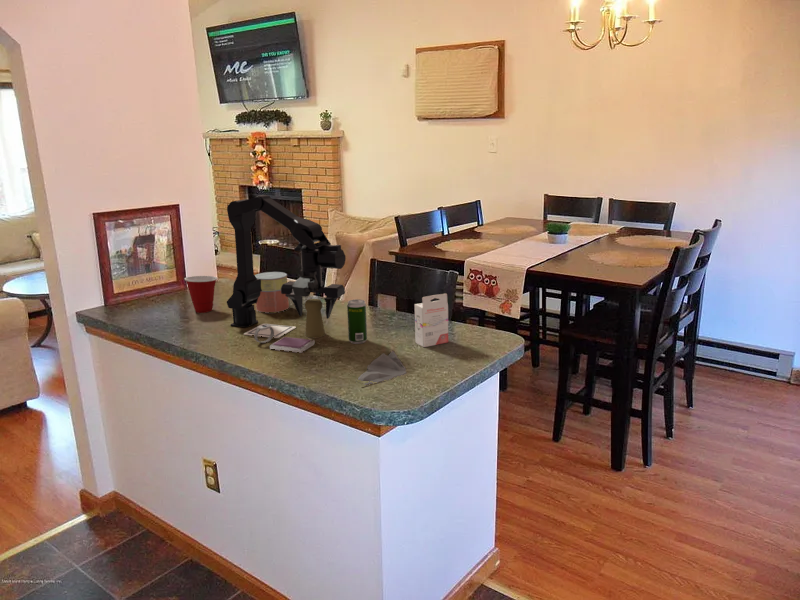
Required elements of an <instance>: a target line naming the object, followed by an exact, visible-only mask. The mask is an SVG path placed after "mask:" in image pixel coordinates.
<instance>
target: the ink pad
mask: <svg viewBox="0 0 800 600" xmlns="http://www.w3.org/2000/svg"><path fill="white" fill-rule="evenodd" d="M315 343H316V342H315V339H308V338H307V339H306V338H297V337H288V336H282V337H280V338H279V339H278V340H277V341H275V342H272V344H270V345H269V350H271V349H275V350H274V351H280V350H284V351H283V352H289V351H292V352H291V353H297V352H299V353H298V354H301V353H304V352H305V351H306V350H308V349H309V348H311V347H312V346H314V345H315ZM303 351H304V352H303Z"/></svg>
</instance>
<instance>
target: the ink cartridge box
mask: <svg viewBox="0 0 800 600" xmlns="http://www.w3.org/2000/svg"><path fill="white" fill-rule="evenodd" d="M421 299H422V300H421V301H422V302H421V303H414V333H415V335H414V336H415V338H414V339H415V340H414V341H415V344H417V345H419V346H420V347H423V348H427V347H433V346H436V345H441V344H447V343H449V304H448V294H447V293H445V292H444V293H440V294H439V293H438V294H433V295H427V296H423V297H422V298H421ZM434 299H436V300H434ZM437 299H438V300H437ZM432 300H434V301H432Z"/></svg>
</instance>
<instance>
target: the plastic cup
mask: <svg viewBox="0 0 800 600" xmlns="http://www.w3.org/2000/svg"><path fill="white" fill-rule="evenodd" d="M217 280H218V277H216V276H215V275H213V276H212V275H194V276H192V275H191V276H188V277H184V281H185V283H186V285H187V288H188V292H189V295H190V299H191V302H192V304H193V309H194V312H195V313H199V314H201V313H204V314H205V313H210V312H212V311H213V308H214V299H215V297H214V296H215V288H216V287H215V286H216V282H217Z"/></svg>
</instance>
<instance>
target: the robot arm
mask: <svg viewBox="0 0 800 600" xmlns="http://www.w3.org/2000/svg"><path fill="white" fill-rule="evenodd" d="M226 210H227V211H226V212H227V216H228V221H229V223H230V224H231V226H232V228H233V229H234V240H235V241H234V242H235V255H236V271H237V275H236V278H235V280H234V282H233V287H232V288H233V289H232V295H230V297H229V298H228V299H227V301H226V304H227V307H228V309H232V311H231V312H232V321H233V322H232V323H230V326H232V327H239V328H241V327H242V328H248V327H251V326H253V325H255V324H256V323H259V320H257V310H256V309H255V304H256V303H257V301H258V297H259V296H260V293H261V291H262V289H261V279H257V278H256V277H255V275H256V274H255V273H254V259H253V258H254V257H253V255H254V254H253V240H252V228H253V225H254V223H255V220H256V213H257V212H262V213H264V214H265V215H267V217H270V218H271V219H273V220H274V221H275V222H278V223H279V224H280V225H281V226H283V227H284V228H286V229H287V230H288V231H289V232H290V233H291V236H292V238H293V239H294V240H296V241H297V242H298V244H297V246H295V247H294V249H293V250H294V252H300V260H301V261H300V262H301V270H299V275H298V278H297V279H296V280H295V281H294V280H288V281H287V283H285V284H283V285H282V286H281V294H286V295H285V296H286V297H288V299H290V300H291V301H292V304H293V306H294V308H295V309H296V312H297V314H298V316H299V317H301V316H302V315H303V297H304V298H306V297H309V296H310V295H311V293H315V294H316V293H317V294H324V296H325V297H324V298H323V300H324V301H325V317H326V319H330V317H331V314H332V311H333V309H334V306H335V304H336V302H337V300H338V299H339V298H340V297H342V296H343V295H345V294H346V290H345V288H346V287H345V286H344V285H343V284H338V283H331V284H329V285H328V286H324V285H325V281H323V279H322V278H323V277H322V276H323V275H322V273H323V272H324V268H325V269H337V270H342V268H344V266H345V264H346V259H347V258H346V257H347V256H346V255H345V252H344V250H343V249H342V245H341V244H335V245H334V244H332V243H331V242H330V241H329V239H328V237H327V236H326V234H325V233H324V232H323V227H322V226H321V224H320V223H318V222H315V221H313V220H310V219H307V218H305V217H304V218H303V217H300V216H298V215H297V214H295V213H294V212H292V211H291V210H289V209H288V208H286V207H285V206H283V205H282V204H280V203H279V202H277V201H276V200H274V199H273V198H272V197H271V196H270V195H268V194H262V195H256V196H255V197H252V198H246V199H239V200H234V201H233V200H232V201H231V202H230V203H228V204H227V207H226Z"/></svg>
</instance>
